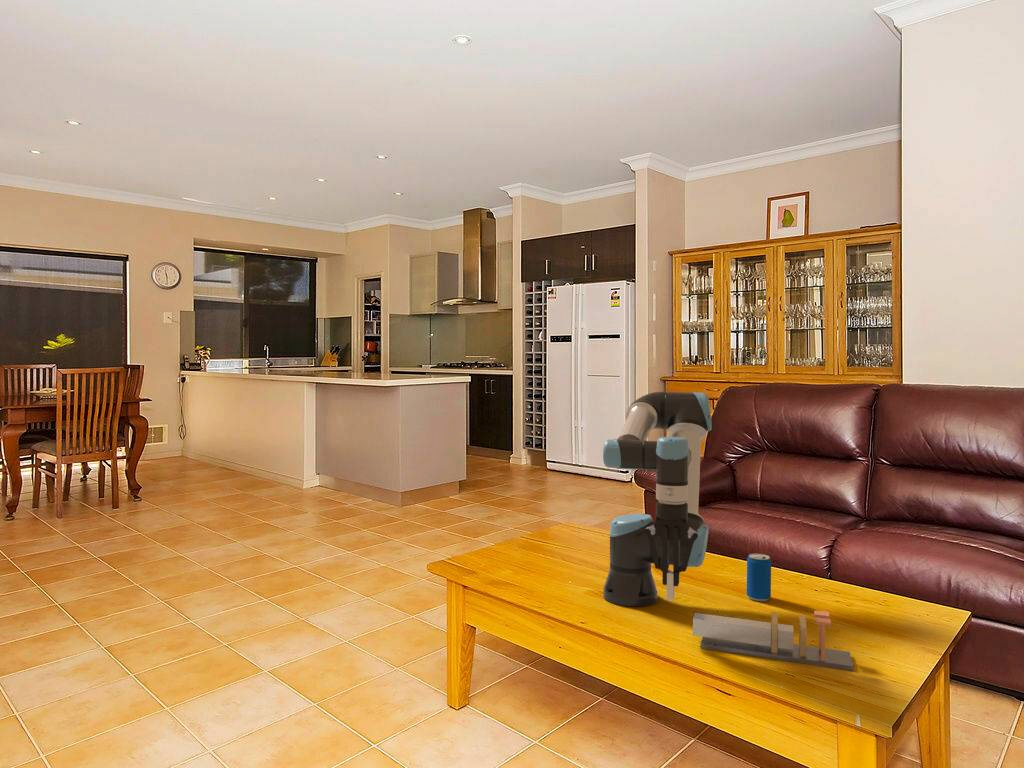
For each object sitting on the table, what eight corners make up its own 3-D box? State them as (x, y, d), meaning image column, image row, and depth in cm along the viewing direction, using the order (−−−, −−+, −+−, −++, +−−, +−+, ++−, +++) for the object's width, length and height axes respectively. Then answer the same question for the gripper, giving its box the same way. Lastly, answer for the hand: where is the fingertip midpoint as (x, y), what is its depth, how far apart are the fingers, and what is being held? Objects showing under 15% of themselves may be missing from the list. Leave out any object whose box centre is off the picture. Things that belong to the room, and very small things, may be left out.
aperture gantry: (815, 660, 149) (816, 621, 149) (813, 647, 156) (814, 610, 156) (830, 662, 148) (831, 623, 148) (827, 649, 155) (828, 612, 155)
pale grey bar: (692, 635, 160) (693, 618, 160) (694, 629, 164) (694, 612, 164) (793, 649, 152) (793, 631, 152) (792, 642, 156) (793, 625, 156)
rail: (700, 648, 158) (701, 614, 158) (703, 635, 165) (704, 603, 165) (853, 671, 146) (854, 634, 146) (849, 656, 154) (850, 621, 154)
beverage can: (772, 603, 188) (773, 560, 188) (748, 601, 189) (748, 558, 189) (768, 595, 194) (769, 553, 194) (745, 593, 196) (745, 552, 195)
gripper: (641, 502, 162) (640, 600, 162) (698, 506, 157) (696, 607, 158) (647, 496, 169) (646, 590, 169) (701, 500, 164) (700, 597, 165)
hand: (670, 598), depth 164 cm, fingers closed
